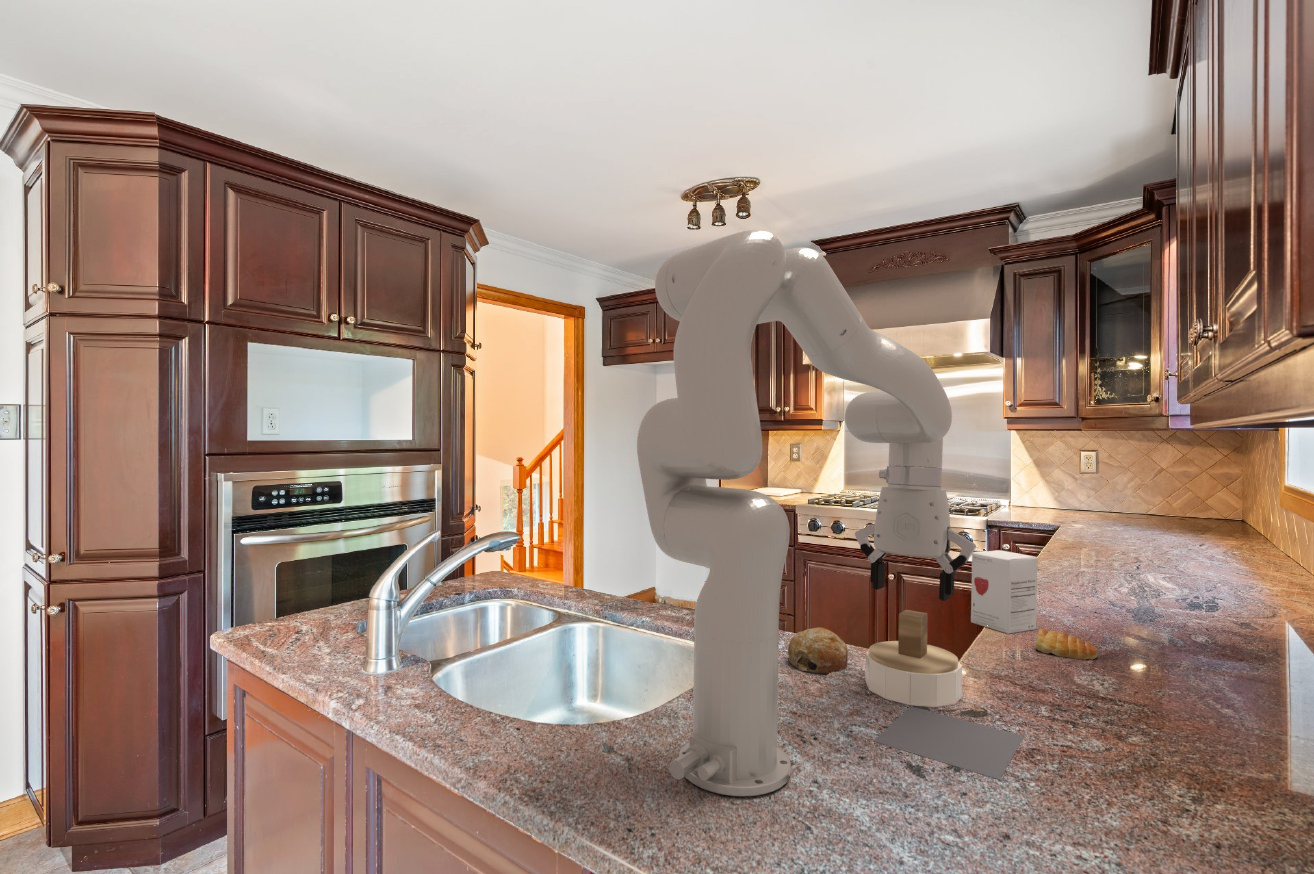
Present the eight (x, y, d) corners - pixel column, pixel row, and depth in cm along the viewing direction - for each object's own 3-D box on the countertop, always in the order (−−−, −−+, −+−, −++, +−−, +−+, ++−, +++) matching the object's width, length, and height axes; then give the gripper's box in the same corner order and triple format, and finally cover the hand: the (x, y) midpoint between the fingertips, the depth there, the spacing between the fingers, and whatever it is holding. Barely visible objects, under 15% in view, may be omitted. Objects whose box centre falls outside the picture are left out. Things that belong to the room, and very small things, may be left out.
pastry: (1099, 655, 117) (1099, 634, 117) (1095, 665, 112) (1095, 643, 112) (1039, 644, 123) (1039, 624, 123) (1033, 653, 118) (1033, 632, 118)
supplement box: (969, 622, 137) (969, 551, 137) (998, 618, 141) (998, 549, 141) (1008, 634, 129) (1009, 558, 129) (1038, 629, 133) (1038, 556, 133)
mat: (999, 785, 71) (999, 779, 71) (873, 745, 80) (873, 740, 80) (1024, 740, 82) (1024, 736, 82) (910, 710, 91) (910, 706, 91)
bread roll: (783, 686, 109) (778, 648, 106) (798, 645, 117) (794, 609, 114) (843, 698, 104) (839, 659, 102) (855, 654, 113) (851, 617, 110)
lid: (944, 680, 89) (945, 630, 89) (856, 660, 97) (857, 614, 97) (967, 657, 99) (968, 612, 99) (885, 641, 106) (886, 599, 106)
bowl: (945, 718, 88) (946, 681, 88) (853, 693, 97) (853, 660, 97) (970, 691, 98) (970, 657, 99) (884, 670, 107) (884, 640, 107)
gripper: (849, 475, 100) (844, 587, 100) (970, 482, 89) (966, 608, 89) (867, 476, 106) (863, 581, 105) (983, 482, 95) (979, 600, 95)
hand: (910, 593), depth 97 cm, fingers open, 9 cm apart
